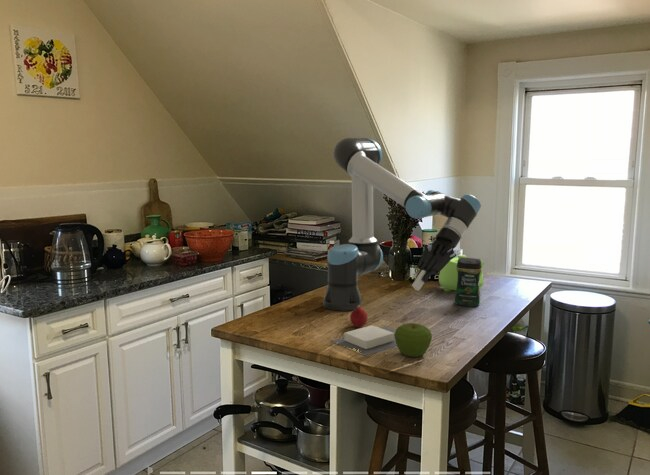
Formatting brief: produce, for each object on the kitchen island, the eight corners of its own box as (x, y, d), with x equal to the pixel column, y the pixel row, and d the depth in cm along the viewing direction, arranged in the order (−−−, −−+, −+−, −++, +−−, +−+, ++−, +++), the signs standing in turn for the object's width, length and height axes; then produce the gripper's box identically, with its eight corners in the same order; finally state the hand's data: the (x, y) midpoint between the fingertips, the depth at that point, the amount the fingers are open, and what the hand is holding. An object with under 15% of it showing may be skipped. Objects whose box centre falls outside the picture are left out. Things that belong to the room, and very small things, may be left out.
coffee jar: (453, 305, 212) (455, 259, 209) (455, 300, 220) (457, 255, 217) (479, 308, 209) (481, 260, 206) (480, 302, 216) (482, 257, 214)
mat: (384, 327, 186) (384, 326, 186) (419, 340, 173) (419, 338, 173) (330, 342, 171) (330, 341, 171) (364, 357, 158) (364, 355, 158)
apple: (393, 361, 156) (394, 328, 154) (394, 348, 166) (395, 317, 164) (431, 364, 154) (432, 330, 152) (430, 350, 164) (431, 319, 163)
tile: (372, 325, 178) (344, 332, 170) (394, 333, 170) (366, 341, 163) (372, 333, 178) (344, 341, 171) (393, 341, 170) (365, 350, 163)
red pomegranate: (362, 332, 181) (362, 309, 180) (347, 329, 184) (347, 306, 183) (370, 327, 186) (370, 304, 185) (355, 324, 189) (355, 302, 188)
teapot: (501, 292, 233) (503, 255, 230) (467, 299, 221) (469, 261, 218) (457, 280, 253) (458, 247, 251) (423, 287, 241) (424, 252, 239)
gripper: (470, 243, 183) (435, 299, 176) (441, 237, 194) (406, 290, 187) (461, 229, 179) (424, 285, 172) (431, 224, 189) (395, 277, 182)
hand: (415, 288), depth 179 cm, fingers closed
